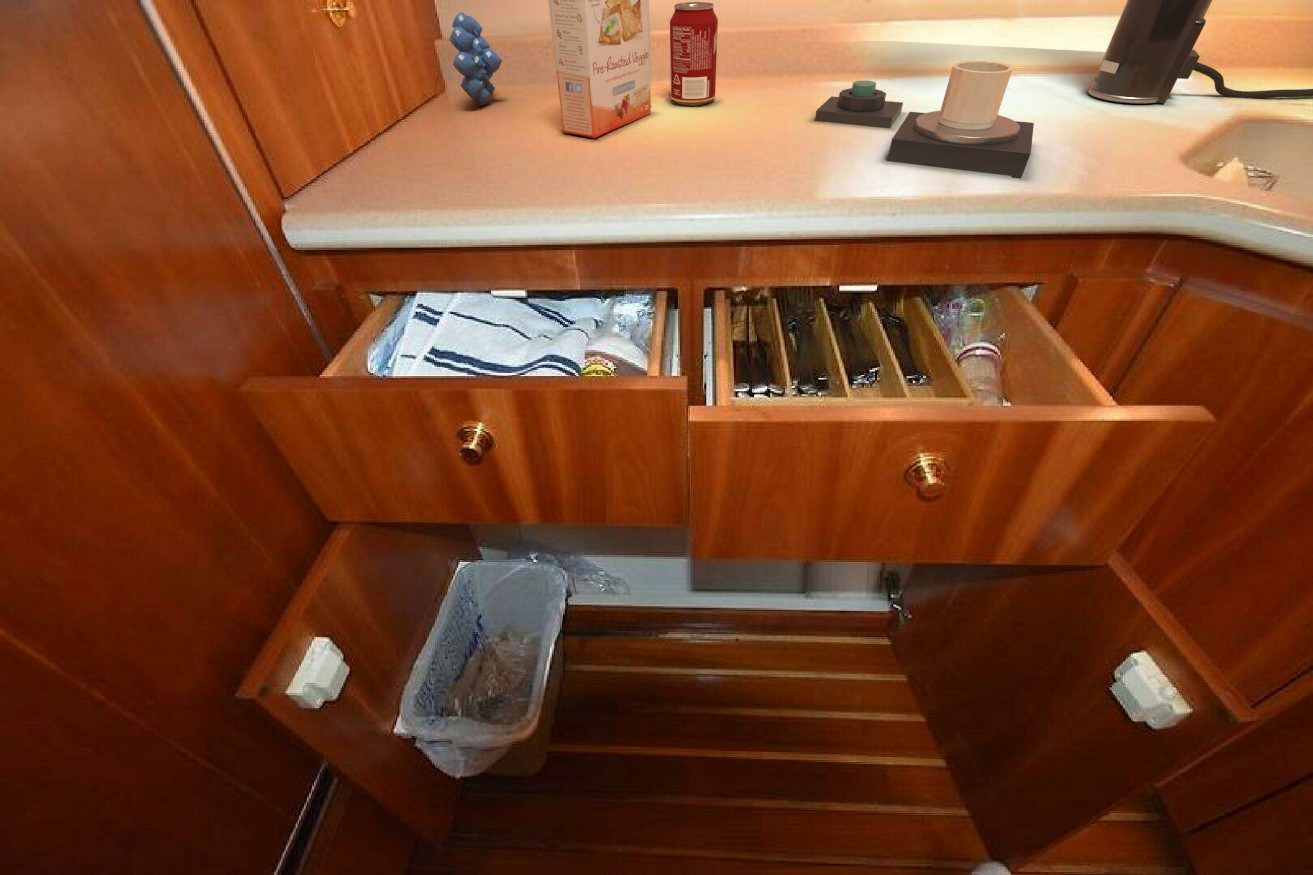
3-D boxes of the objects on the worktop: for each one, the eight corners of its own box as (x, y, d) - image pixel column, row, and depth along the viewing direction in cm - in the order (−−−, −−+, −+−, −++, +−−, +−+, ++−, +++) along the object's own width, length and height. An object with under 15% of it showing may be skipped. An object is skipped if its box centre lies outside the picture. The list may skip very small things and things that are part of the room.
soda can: (711, 107, 86) (715, 7, 78) (666, 106, 87) (665, 8, 79) (717, 96, 91) (721, 1, 83) (675, 95, 92) (674, 1, 84)
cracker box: (597, 140, 76) (579, -73, 62) (561, 134, 79) (535, -72, 64) (654, 114, 85) (650, -78, 71) (620, 109, 87) (609, -78, 73)
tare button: (875, 94, 79) (878, 81, 78) (871, 99, 77) (873, 86, 76) (853, 92, 80) (855, 79, 79) (848, 97, 78) (850, 84, 77)
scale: (1025, 145, 70) (1036, 115, 68) (1021, 178, 62) (1034, 145, 60) (904, 133, 75) (911, 104, 73) (886, 161, 67) (893, 130, 65)
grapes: (500, 115, 86) (481, 16, 78) (455, 116, 87) (432, 17, 79) (518, 95, 95) (503, 4, 87) (477, 96, 95) (458, 5, 87)
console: (900, 113, 82) (906, 89, 80) (890, 129, 76) (895, 103, 74) (829, 107, 85) (833, 83, 83) (814, 121, 80) (818, 96, 78)
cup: (995, 118, 68) (1014, 62, 64) (991, 132, 64) (1011, 74, 60) (941, 113, 70) (956, 59, 66) (934, 126, 66) (950, 70, 62)
